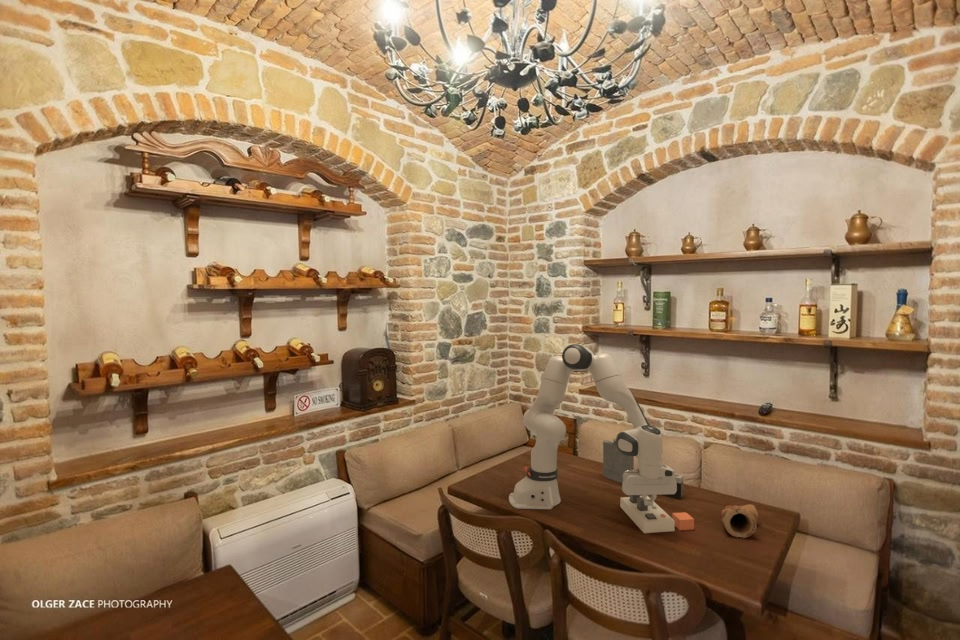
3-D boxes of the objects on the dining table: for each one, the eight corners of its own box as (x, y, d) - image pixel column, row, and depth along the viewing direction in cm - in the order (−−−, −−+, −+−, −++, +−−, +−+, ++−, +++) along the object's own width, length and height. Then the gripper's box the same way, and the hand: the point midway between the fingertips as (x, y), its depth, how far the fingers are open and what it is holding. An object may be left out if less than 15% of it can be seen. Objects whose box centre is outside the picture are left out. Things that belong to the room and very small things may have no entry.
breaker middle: (640, 511, 185) (640, 500, 185) (637, 508, 188) (637, 497, 188) (647, 511, 186) (647, 500, 185) (644, 508, 189) (644, 497, 188)
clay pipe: (709, 534, 181) (736, 542, 167) (703, 505, 184) (729, 510, 170) (751, 527, 185) (781, 534, 171) (745, 499, 188) (774, 503, 173)
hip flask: (634, 483, 221) (635, 442, 220) (630, 486, 218) (630, 444, 217) (605, 474, 233) (605, 434, 232) (600, 476, 230) (600, 436, 229)
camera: (686, 493, 210) (686, 471, 209) (680, 500, 203) (680, 477, 203) (654, 486, 219) (654, 464, 218) (648, 491, 212) (648, 470, 212)
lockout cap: (679, 530, 178) (679, 520, 177) (671, 523, 183) (672, 513, 183) (693, 529, 178) (694, 519, 178) (685, 522, 184) (685, 512, 184)
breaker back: (632, 504, 192) (632, 493, 192) (629, 500, 195) (629, 490, 195) (639, 503, 193) (639, 492, 192) (636, 500, 196) (636, 489, 195)
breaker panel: (644, 533, 176) (644, 521, 176) (620, 506, 198) (620, 496, 197) (674, 531, 177) (674, 519, 177) (647, 505, 199) (647, 494, 199)
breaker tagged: (648, 528, 179) (648, 517, 178) (645, 525, 182) (645, 513, 181) (656, 528, 179) (656, 516, 179) (652, 524, 182) (652, 513, 182)
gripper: (626, 473, 174) (625, 509, 175) (679, 471, 176) (678, 508, 176) (619, 466, 180) (618, 502, 181) (671, 465, 182) (670, 500, 183)
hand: (648, 505), depth 179 cm, fingers closed
